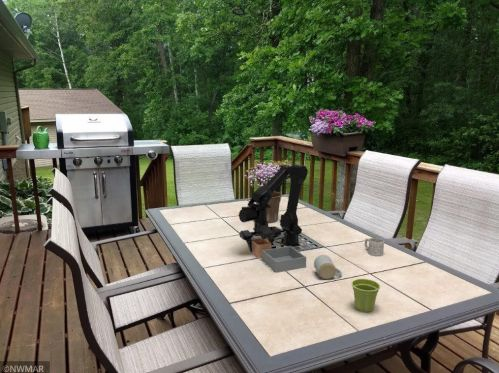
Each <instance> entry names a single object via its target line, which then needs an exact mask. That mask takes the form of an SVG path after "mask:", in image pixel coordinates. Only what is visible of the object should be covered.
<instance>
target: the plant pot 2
mask: <svg viewBox="0 0 499 373" xmlns="http://www.w3.org/2000/svg"><path fill="white" fill-rule="evenodd" d="M351 286H352V290H353V297H354V307H355V309H356V310H357V311H361V312H363V313H370V312H372V311H374V308H375V305H376V304H375V303H376V300H377V295H378V292H379V290H380V289H381V284H380V283H378V282H377V281H375V280H373V279H370V278H355V279H353V280H352V281H351Z"/></svg>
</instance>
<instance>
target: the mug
mask: <svg viewBox="0 0 499 373" xmlns="http://www.w3.org/2000/svg"><path fill="white" fill-rule="evenodd" d="M364 248H366V250H368V251H367V253H368V255H370V256H372V257H382V256H384V249H385V240H384V239H383V238H381V237H380V238H379V237H371V238H365V240H364Z"/></svg>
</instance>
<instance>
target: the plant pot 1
mask: <svg viewBox="0 0 499 373" xmlns="http://www.w3.org/2000/svg"><path fill="white" fill-rule="evenodd" d="M282 196H283V193H282V192H278V191H274V192H273V193H272V198H271V199H270V201H269V202H268V205H269V206H271V208H267V221H268V223H270V224H272V223H276V222H278V220H279V213H280V212H279V211H280V204H281V200H282ZM255 204H258V203H255ZM258 205H259V204H258Z"/></svg>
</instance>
